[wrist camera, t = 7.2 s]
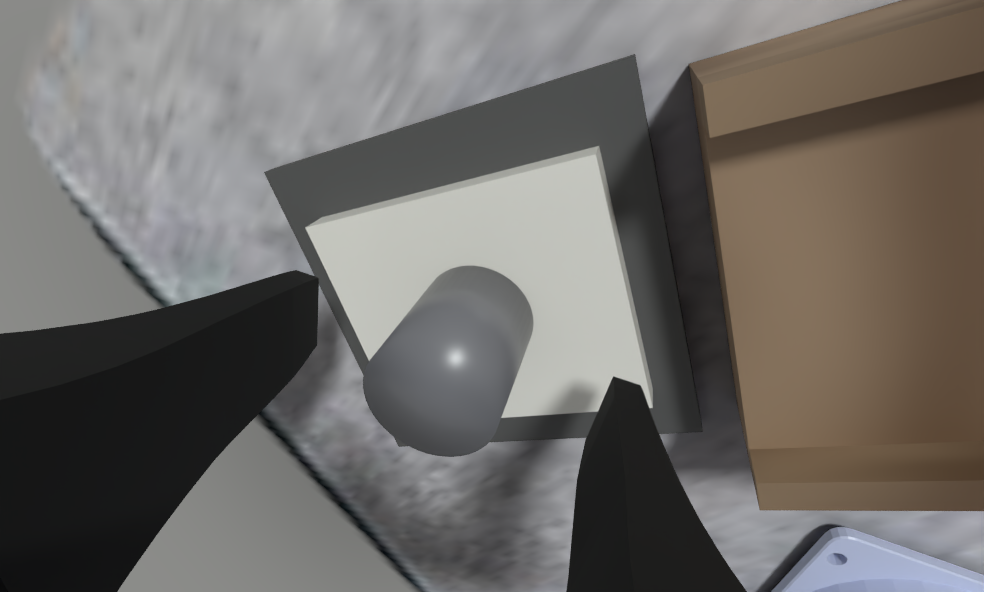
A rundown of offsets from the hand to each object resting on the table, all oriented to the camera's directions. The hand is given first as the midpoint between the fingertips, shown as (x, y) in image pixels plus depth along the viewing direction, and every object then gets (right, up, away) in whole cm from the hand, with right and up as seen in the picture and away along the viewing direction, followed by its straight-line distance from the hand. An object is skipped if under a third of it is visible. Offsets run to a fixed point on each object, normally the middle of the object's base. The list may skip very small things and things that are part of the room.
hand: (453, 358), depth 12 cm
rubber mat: (+1, +1, +3) cm, 3 cm away
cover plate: (+1, +1, +2) cm, 3 cm away
